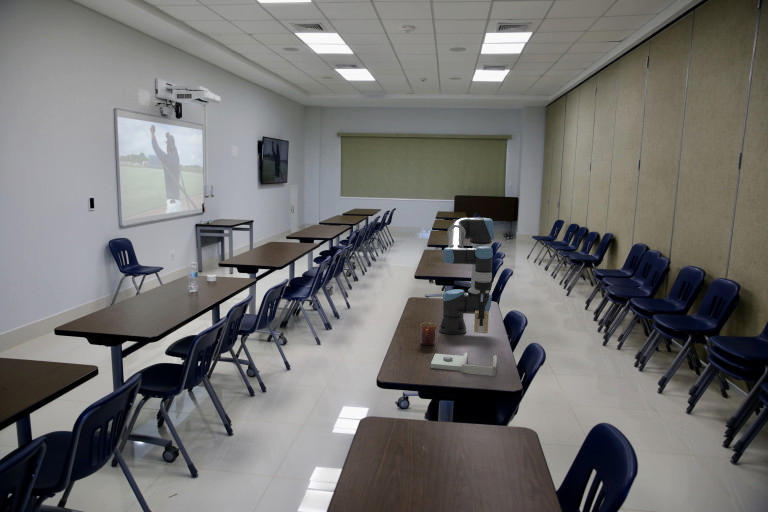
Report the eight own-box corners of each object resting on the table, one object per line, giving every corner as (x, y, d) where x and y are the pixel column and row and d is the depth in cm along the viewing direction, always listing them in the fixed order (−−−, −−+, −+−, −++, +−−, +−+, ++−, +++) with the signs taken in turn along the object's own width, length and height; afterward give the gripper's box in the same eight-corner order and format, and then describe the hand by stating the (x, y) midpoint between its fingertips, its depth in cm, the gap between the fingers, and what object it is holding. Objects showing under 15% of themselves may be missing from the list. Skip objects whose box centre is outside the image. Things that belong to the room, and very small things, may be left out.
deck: (435, 356, 243) (435, 350, 242) (496, 362, 236) (496, 355, 236) (429, 369, 227) (430, 362, 226) (495, 376, 220) (496, 368, 219)
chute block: (474, 329, 233) (475, 310, 232) (488, 330, 232) (488, 311, 231) (474, 332, 229) (474, 313, 227) (487, 333, 227) (488, 314, 226)
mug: (420, 340, 268) (420, 321, 266) (437, 341, 266) (437, 322, 264) (417, 347, 256) (417, 328, 255) (434, 349, 254) (435, 329, 253)
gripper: (475, 277, 237) (474, 325, 240) (473, 284, 219) (471, 335, 222) (492, 277, 235) (490, 326, 238) (490, 285, 218) (488, 337, 221)
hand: (481, 330), depth 230 cm, fingers closed on chute block, 5 cm apart
